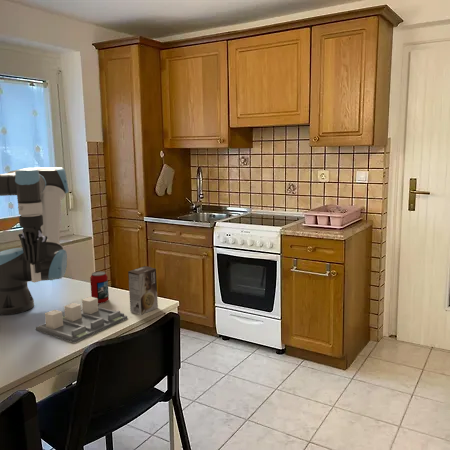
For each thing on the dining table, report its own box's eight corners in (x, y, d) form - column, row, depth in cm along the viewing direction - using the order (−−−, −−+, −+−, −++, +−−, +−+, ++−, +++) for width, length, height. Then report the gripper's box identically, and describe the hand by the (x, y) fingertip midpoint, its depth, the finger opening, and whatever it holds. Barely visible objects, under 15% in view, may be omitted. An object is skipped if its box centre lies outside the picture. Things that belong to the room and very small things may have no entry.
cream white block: (82, 312, 169) (82, 299, 169) (91, 309, 173) (90, 296, 172) (90, 314, 167) (89, 301, 166) (98, 311, 171) (97, 298, 170)
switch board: (35, 330, 156) (35, 321, 156) (90, 308, 176) (89, 301, 176) (74, 342, 146) (73, 334, 145) (127, 318, 166) (127, 310, 165)
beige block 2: (65, 319, 163) (64, 306, 162) (74, 315, 166) (73, 302, 165) (72, 321, 161) (71, 308, 160) (81, 317, 164) (80, 304, 163)
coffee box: (146, 304, 180) (144, 265, 177) (158, 307, 176) (156, 268, 173) (129, 311, 173) (127, 271, 170) (141, 315, 169) (139, 273, 166)
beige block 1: (46, 326, 156) (44, 313, 155) (55, 323, 159) (54, 309, 159) (53, 329, 154) (52, 315, 153) (63, 325, 157) (62, 311, 156)
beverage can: (104, 304, 180) (102, 275, 178) (88, 303, 182) (86, 275, 180) (111, 299, 187) (110, 271, 185) (96, 298, 188) (94, 270, 186)
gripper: (9, 215, 155) (15, 281, 159) (32, 217, 148) (38, 287, 152) (28, 212, 161) (34, 276, 165) (52, 214, 154) (57, 281, 158)
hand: (36, 281), depth 158 cm, fingers closed
